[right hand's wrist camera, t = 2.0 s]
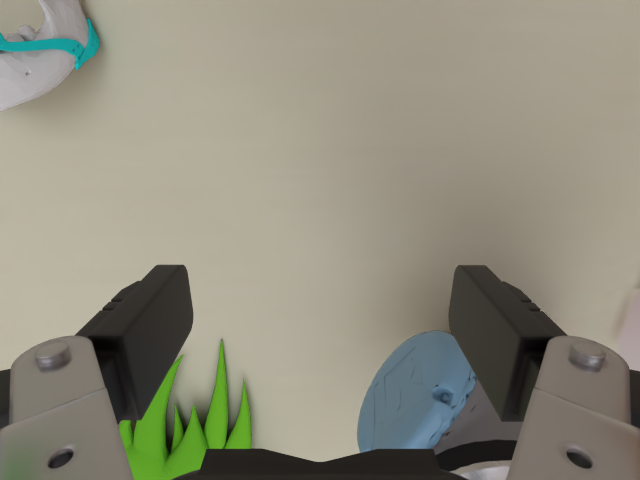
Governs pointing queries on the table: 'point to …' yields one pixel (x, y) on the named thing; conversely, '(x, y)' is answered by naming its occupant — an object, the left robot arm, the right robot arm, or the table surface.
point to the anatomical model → (44, 52)
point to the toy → (187, 449)
